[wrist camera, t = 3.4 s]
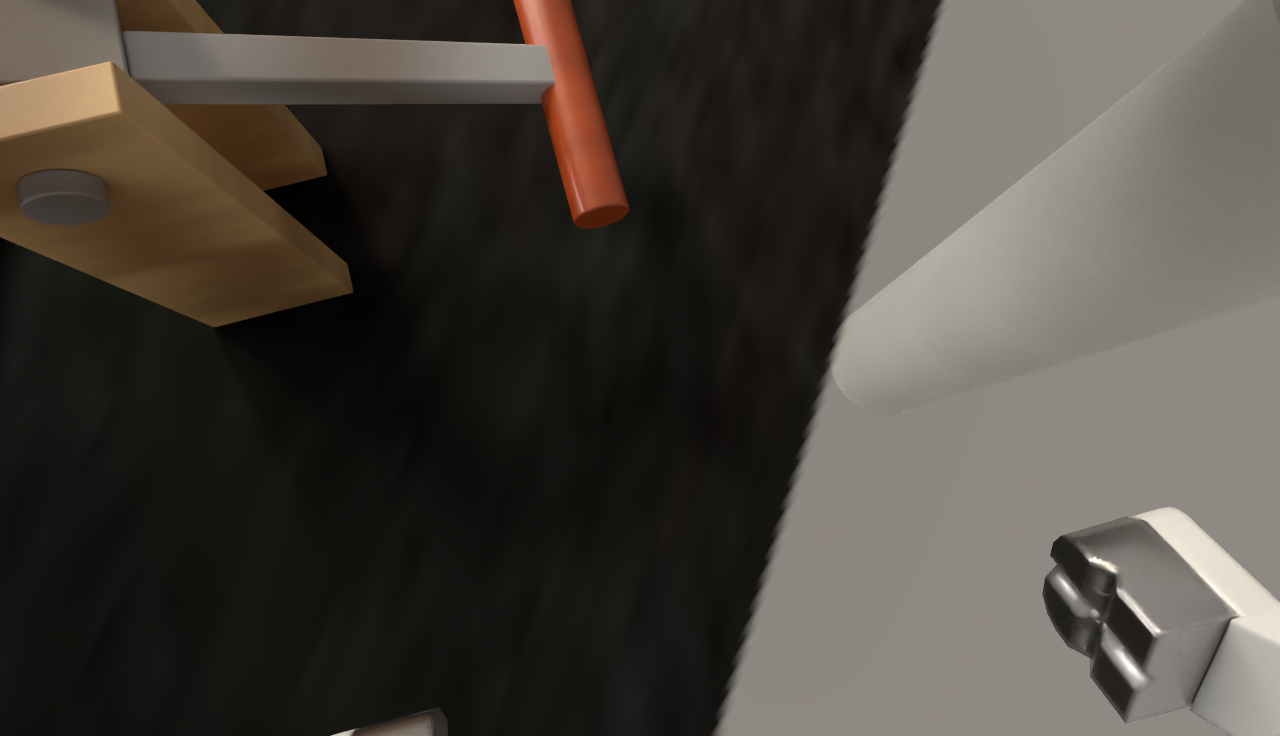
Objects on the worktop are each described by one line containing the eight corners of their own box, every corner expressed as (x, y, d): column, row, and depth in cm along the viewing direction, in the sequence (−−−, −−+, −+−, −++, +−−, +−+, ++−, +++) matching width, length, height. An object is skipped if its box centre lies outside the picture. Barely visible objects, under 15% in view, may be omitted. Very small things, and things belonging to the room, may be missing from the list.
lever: (536, -27, 22) (565, -91, 20) (608, 234, 21) (647, 194, 19) (-56, -75, 16) (-101, -174, 14) (-2, 291, 15) (-42, 241, 13)
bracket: (437, 96, 28) (267, -280, 15) (497, 335, 27) (370, 167, 13) (97, 177, 27) (-420, -141, 14) (141, 428, 26) (-385, 350, 12)
